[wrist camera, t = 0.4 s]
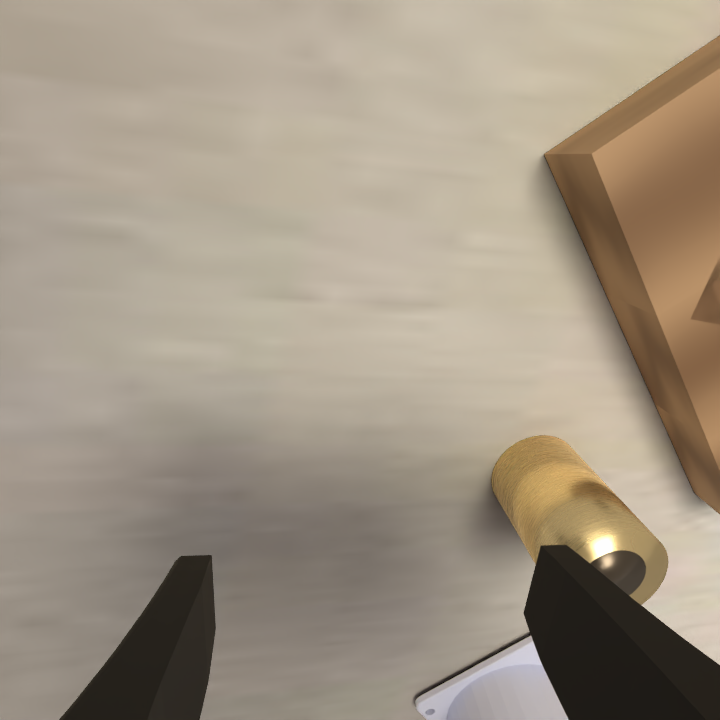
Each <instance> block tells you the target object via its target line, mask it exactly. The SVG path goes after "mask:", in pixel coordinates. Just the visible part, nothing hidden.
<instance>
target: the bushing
mask: <svg viewBox="0 0 720 720" xmlns="http://www.w3.org/2000/svg"><path fill="white" fill-rule="evenodd" d="M491 483H492V489H493V492H494V494H495V496H496V497H497V499H498V501H499V502H500V504H501V506H502V508H503V509H504V511H505V513H506V514H507V516H508V518H509V520H510V521H511V523H512V525H513V526H514V528H515V530H516V532H517V533H518V535H519V537H520V538H521V540H522V542H523V543H524V545H525V547H526V549H527V550H528V552H529V554H530V555H531V557H532V559H533V561H534V562H535V564H536V562H537V558H538V554H539V550H540V546H541V545H567V546H569V547H570V548H571V549H573V550H574V551H575V552H576V553H578V554H579V555H580V556H581V557H583V558H584V559H585V560H586V561H588V562H589V563H590V564H591V565H593V566H594V567H595V568H596V569H597V570H599V571H600V572H601V573H602V574H603V575H605V576H606V577H607V578H608V579H610V580H611V581H612V582H613V583H614V584H616V585H617V586H618V587H619V588H620V589H622V590H623V591H624V592H625V593H627V594H628V595H629V596H630V597H631V598H633V599H634V600H635V601H636V602H638V603H639V604H640V605H642V604H643V603H644V602H646V601H647V600H648V599H649V598H650V597H651V596H652V595H653V594H654V593H655V592H656V591H657V589H658V588H659V587H660V585H661V583H662V582H663V580H664V578H665V575H666V572H667V568H668V556H667V552H666V550H665V548H664V546H663V545H662V543H661V542H660V541H659V540H658V539H657V538H656V537H655V536H654V535H653V534H652V533H651V532H650V531H649V530H648V529H647V527H646V526H645V525H644V524H643V523H642V522H641V521H640V520H639V519H638V518H637V517H636V516H635V515H634V514H633V513H632V512H631V510H630V509H629V508H628V507H627V506H626V505H625V504H624V503H623V502H622V501H621V500H620V499H619V498H618V497H617V496H616V495H615V493H614V492H613V491H612V490H611V489H610V488H609V487H608V486H607V485H606V484H605V483H604V482H603V481H602V480H601V479H600V478H599V476H598V475H597V474H596V473H595V472H594V471H593V470H592V469H591V468H590V467H589V466H588V465H587V464H586V463H585V462H584V461H583V459H582V458H581V457H580V456H579V455H578V454H577V453H576V452H575V451H574V450H573V449H572V448H571V447H570V446H569V445H568V444H567V443H566V442H565V441H563V440H561V439H559V438H556V437H553V436H534V437H530V438H526V439H524V440H521V441H519V442H518V443H516V444H514V445H513V446H511V447H510V448H509V449H507V450H506V451H505V452H504V453H503V454H502V456H501V457H500V458H499V459H498V461H497V463H496V465H495V467H494V469H493V473H492V479H491Z"/></svg>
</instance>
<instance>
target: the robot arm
mask: <svg viewBox="0 0 720 720" xmlns="http://www.w3.org/2000/svg"><path fill="white" fill-rule="evenodd" d="M524 616H525V619H526V622H527V625H528V628H529V631H530V634H531V636H529V637H527V638H525V639H523V640H521V641H520V642H518V643H516V644H514V645H512V646H510V647H509V648H507V649H505V650H503V651H501V652H500V653H498V654H496V655H494V656H492V657H490V658H489V659H487V660H485V661H483V662H481V663H479V664H478V665H476V666H474V667H472V668H470V669H468V670H467V671H465V672H463V673H461V674H459V675H457V676H456V677H454V678H452V679H450V680H448V681H446V682H445V683H443V684H441V685H439V686H437V687H436V688H434V689H432V690H430V691H428V692H426V693H425V694H423V695H421V696H419V697H418V698H417V699H416V701H415V704H416V709H417V711H418V712H419V713H420V714H421V715H422V716H423V717H424V718H425V719H427V720H720V665H719V664H717V663H716V662H714V661H713V660H712V659H710V658H709V657H708V656H706V655H705V654H704V653H702V652H701V651H700V650H698V649H697V648H696V647H694V646H693V645H691V644H690V643H689V642H687V641H686V640H685V639H683V638H682V637H681V636H679V635H678V634H677V633H676V632H674V631H673V630H672V629H670V628H669V627H668V626H666V625H665V624H664V623H663V622H661V621H660V620H659V619H658V618H656V617H655V616H654V615H653V614H651V613H650V612H649V611H648V610H646V609H645V608H644V607H643V606H641V605H640V604H639V603H638V602H636V601H635V600H634V599H633V598H631V597H630V596H629V595H628V594H627V593H625V592H624V591H623V590H622V589H620V588H619V587H618V586H617V585H616V584H614V583H613V582H612V581H611V580H610V579H608V578H607V577H606V576H605V575H603V574H602V573H601V572H600V571H599V570H597V569H596V568H595V567H594V566H593V565H591V564H590V563H589V562H588V561H586V560H585V559H584V558H583V557H581V556H580V555H579V554H578V553H576V552H575V551H574V550H573V549H571V548H570V547H569V546H567V545H541V546H540V550H539V554H538V558H537V562H536V566H535V570H534V574H533V578H532V582H531V586H530V590H529V594H528V598H527V602H526V606H525V610H524ZM215 629H216V627H215V608H214V590H213V572H212V555H202V556H181V557H180V558H178V559H177V560H176V561H175V563H174V565H173V566H172V568H171V570H170V571H169V573H168V575H167V576H166V578H165V579H164V581H163V583H162V584H161V586H160V587H159V589H158V590H157V592H156V593H155V595H154V596H153V598H152V599H151V601H150V602H149V604H148V605H147V607H146V608H145V610H144V611H143V613H142V614H141V615H140V617H139V618H138V620H137V621H136V622H135V624H134V625H133V627H132V628H131V629H130V631H129V632H128V633H127V635H126V636H125V638H124V639H123V640H122V642H121V643H120V645H119V646H118V647H117V649H116V650H115V651H114V653H113V654H112V655H111V657H110V658H109V659H108V660H107V662H106V663H105V664H104V666H103V667H102V668H101V669H100V671H99V672H98V673H97V674H96V676H95V677H94V678H93V679H92V681H91V682H90V683H89V684H88V686H87V687H86V688H85V689H84V691H83V692H82V693H81V694H80V696H79V697H78V698H77V699H76V701H75V702H74V703H73V704H72V705H71V707H70V708H69V709H68V710H67V711H66V712H65V714H64V715H63V716H62V717H61V718H60V720H199V719H200V715H201V711H202V707H203V702H204V698H205V694H206V689H207V685H208V680H209V673H210V666H211V659H212V651H213V644H214V636H215Z"/></svg>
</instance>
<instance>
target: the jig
mask: <svg viewBox="0 0 720 720" xmlns="http://www.w3.org/2000/svg"><path fill="white" fill-rule="evenodd" d="M544 156H545V158H546V160H547V162H548V165H549V167H550V169H551V171H552V174H553V176H554V178H555V180H556V183H557V185H558V187H559V189H560V192H561V194H562V196H563V198H564V201H565V203H566V205H567V207H568V210H569V212H570V214H571V216H572V219H573V221H574V223H575V225H576V228H577V230H578V232H579V234H580V237H581V239H582V241H583V243H584V246H585V248H586V250H587V252H588V255H589V257H590V259H591V261H592V264H593V266H594V268H595V270H596V273H597V275H598V277H599V279H600V282H601V284H602V286H603V288H604V291H605V293H606V295H607V297H608V300H609V302H610V304H611V306H612V309H613V311H614V313H615V315H616V318H617V320H618V322H619V324H620V327H621V329H622V331H623V333H624V336H625V338H626V340H627V342H628V345H629V347H630V349H631V351H632V354H633V356H634V358H635V360H636V363H637V365H638V367H639V369H640V372H641V374H642V376H643V378H644V381H645V383H646V385H647V387H648V390H649V392H650V394H651V396H652V399H653V401H654V403H655V405H656V408H657V410H658V412H659V414H660V417H661V419H662V421H663V423H664V426H665V428H666V430H667V432H668V435H669V437H670V439H671V441H672V444H673V446H674V448H675V451H676V453H677V455H678V457H679V460H680V462H681V464H682V466H683V469H684V471H685V473H686V475H687V478H688V480H689V482H690V484H691V487H692V489H693V491H694V493H695V494H696V495H697V496H699V497H700V498H701V499H702V500H703V501H705V502H706V503H707V504H708V505H709V506H710V507H712V508H713V509H714V510H715V511H716V512H718V513H719V514H720V36H718V37H717V38H715V39H714V40H712V41H711V42H709V43H708V44H707V45H705V46H704V47H702V48H701V49H699V50H698V51H696V52H695V53H693V54H692V55H690V56H689V57H687V58H686V59H684V60H683V61H681V62H680V63H678V64H677V65H675V66H674V67H672V68H671V69H670V70H668V71H667V72H665V73H664V74H662V75H661V76H659V77H658V78H656V79H655V80H653V81H652V82H650V83H649V84H647V85H646V86H644V87H643V88H641V89H640V90H638V91H637V92H635V93H634V94H633V95H631V96H630V97H628V98H627V99H625V100H624V101H622V102H621V103H619V104H618V105H616V106H615V107H613V108H612V109H610V110H609V111H607V112H606V113H604V114H603V115H601V116H600V117H599V118H597V119H596V120H594V121H593V122H591V123H590V124H588V125H587V126H585V127H584V128H582V129H581V130H579V131H578V132H576V133H575V134H573V135H572V136H570V137H569V138H567V139H566V140H564V141H563V142H562V143H560V144H559V145H557V146H556V147H554V148H553V149H551V150H550V151H548V152H547V153H545V154H544Z"/></svg>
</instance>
